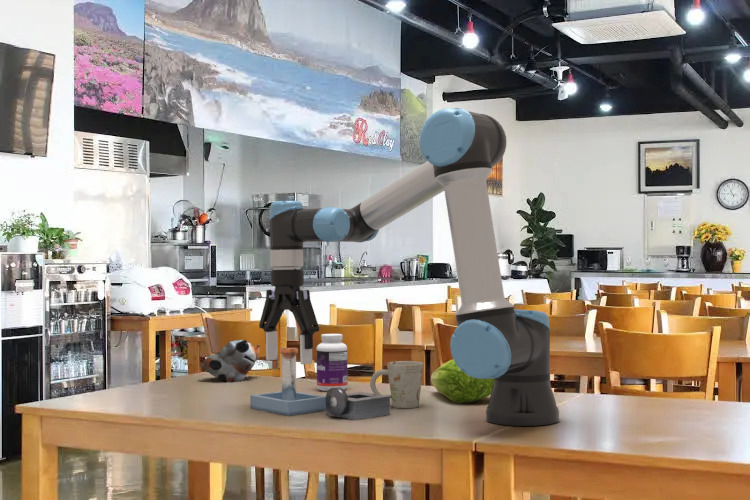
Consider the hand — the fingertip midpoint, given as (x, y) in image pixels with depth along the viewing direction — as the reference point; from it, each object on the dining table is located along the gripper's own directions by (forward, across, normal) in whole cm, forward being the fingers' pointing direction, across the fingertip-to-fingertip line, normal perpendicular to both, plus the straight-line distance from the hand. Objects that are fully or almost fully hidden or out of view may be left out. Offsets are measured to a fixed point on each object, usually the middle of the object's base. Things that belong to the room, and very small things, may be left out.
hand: (288, 361), depth 226 cm
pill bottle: (+11, +18, -26) cm, 34 cm away
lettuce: (+11, -15, -40) cm, 44 cm away
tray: (+11, 0, 0) cm, 11 cm away
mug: (+11, -14, -20) cm, 27 cm away
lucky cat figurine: (+11, +56, -19) cm, 60 cm away
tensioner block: (+11, -17, -6) cm, 21 cm away
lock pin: (+10, 0, 0) cm, 10 cm away
